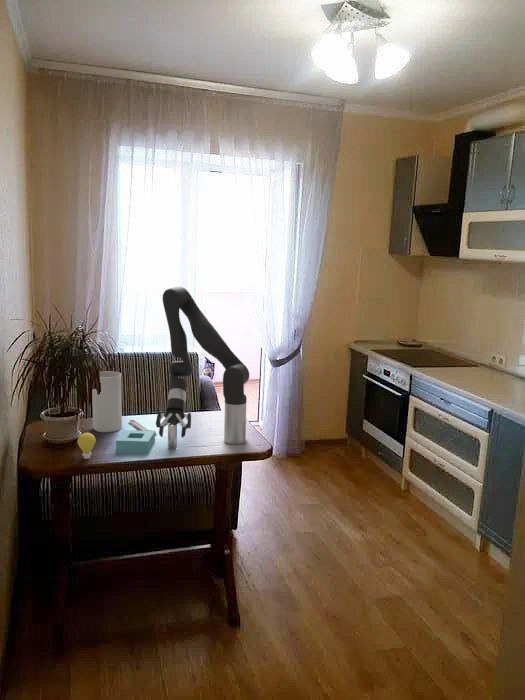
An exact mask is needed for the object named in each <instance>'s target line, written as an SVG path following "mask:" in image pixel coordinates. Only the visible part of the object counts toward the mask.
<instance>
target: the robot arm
mask: <svg viewBox="0 0 525 700" xmlns="http://www.w3.org/2000/svg"><path fill="white" fill-rule="evenodd" d="M162 303H163V304H162V305H163V309H164V313H165V317H166V322H167V326H168V331H169V332H168V333H169V339H170V349H171V350H170V352H171V356H173V357H175V358H179V359H180V360H175V361H171V362H170V363H169V364H168V373H169V379H170V380H169V381H170V384H169V392H168V396H167V401H166V402H167V403H166V408H165V412H160V411H158V412H157V416H156V421H155V425H156V426H155V427H156V428H159V429H158V434H159V436H160V437H161V438H163V437H164V432H165V431H164V430H165V427H168V424H177V425H178V424H179V425H180V427H181V434H180V436H181V438H184V437H185V436H186V432H187V429H191V428H192V413H191V412H188V413H185V408H186V407H185V406H186V403H187V399H186V398H187V387H188V384H187V381H186V380H185V379H184V378H188V377H189V378H190V377H191V376H192V375H193V373H194V366H193V363H192V361H191V358H190V354H189V351H188V339H187V334H186V331H185V329H184V327H183V325H182V323H181V318H180V310H181V312H182V313H183V314H184V315H185V317H186V318H187V320H188V323H189V326H190V330H191V333H192V336H193V337H194V339H195V340H196V342H197V343H198V344H199V346H200V347H201V348H202V349H203V351H205V352H206V353H208V354H209V355H210V356H212V357H213V358H215V359H216V360H217V361H218V362H219V363H220V364H221V365H222V366H223V368H224V369H225V370H224V372H223V375H222V395H223V398H224V425H223V426H224V427H223V429H224V430H223V431H224V432H223V441H224V442H225V444H230V445H241V444H246V442H247V441H246V440H247V402H248V401H247V395H246V394H245V386H244V385H245V384H246V383H248V381H249V380H250V371H249V368H248V367H247V366H246V365H245V364H244V362H242V361H241V359H239V358H238V356H237V355H236V354H234V352H233V351H232V350H231V348H230V347H229V346H228V344H227V343H226V341H225V340H224V339H223V338H222V337H221V335H220V334H219V331H217V329H215V327H214V326H213V325H212V323H211V322H210V321H209V320H208V318H207V317H206V315H205V314H204V313H203V312H202V310H201V309H200V308H199V306H198V305H197V303H196V301H195V300H194V298H193V297H192V295H191V293H190V291H189V290H187V289H186V288H185V287H183V286H179V285H178V286H174V287H171V288H168V289H165V290H164V292H163V293H162ZM163 418H164V419H163ZM162 419H163V420H162ZM184 419H186V420H187V422H186V423H185V422H184ZM161 421H162V422H161Z"/></svg>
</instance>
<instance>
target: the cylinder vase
mask: <svg viewBox="0 0 525 700" xmlns="http://www.w3.org/2000/svg"><path fill="white" fill-rule="evenodd" d="M99 372H100V383H101V392H100V394H99V395H98V394H97V390H96V389H93V390H91V391H92V392H91V393H92V394H91V395H92V397H91V398H92V428H93V430H94V431H95V432H98V433H113V432H117V431H120V430H121V429H122V426H123V413H122V411H123V409H122V407H123V405H122V404H123V403H122V373H121V372H119V371H113V370H112V371H99Z"/></svg>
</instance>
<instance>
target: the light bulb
mask: <svg viewBox="0 0 525 700" xmlns="http://www.w3.org/2000/svg"><path fill="white" fill-rule="evenodd" d="M77 438H78V439H77V445H78V446H79V448H80V450H81V451H82V456H83V459H85V460H87V459H91V456H92V450H93V449H94V447H95V444H96V443H97V442H96V441H97V440H96V437H95V435H94V434H92V433H91V432H83V433H82V434H80V435H79V436H78V437H77Z"/></svg>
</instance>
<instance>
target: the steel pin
mask: <svg viewBox="0 0 525 700" xmlns="http://www.w3.org/2000/svg"><path fill="white" fill-rule="evenodd" d="M176 448H178V424H170V423H169V424H168V425H167V449H168V450H169V449H171V451H173V450H172V449H175V450H177V449H176Z"/></svg>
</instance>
